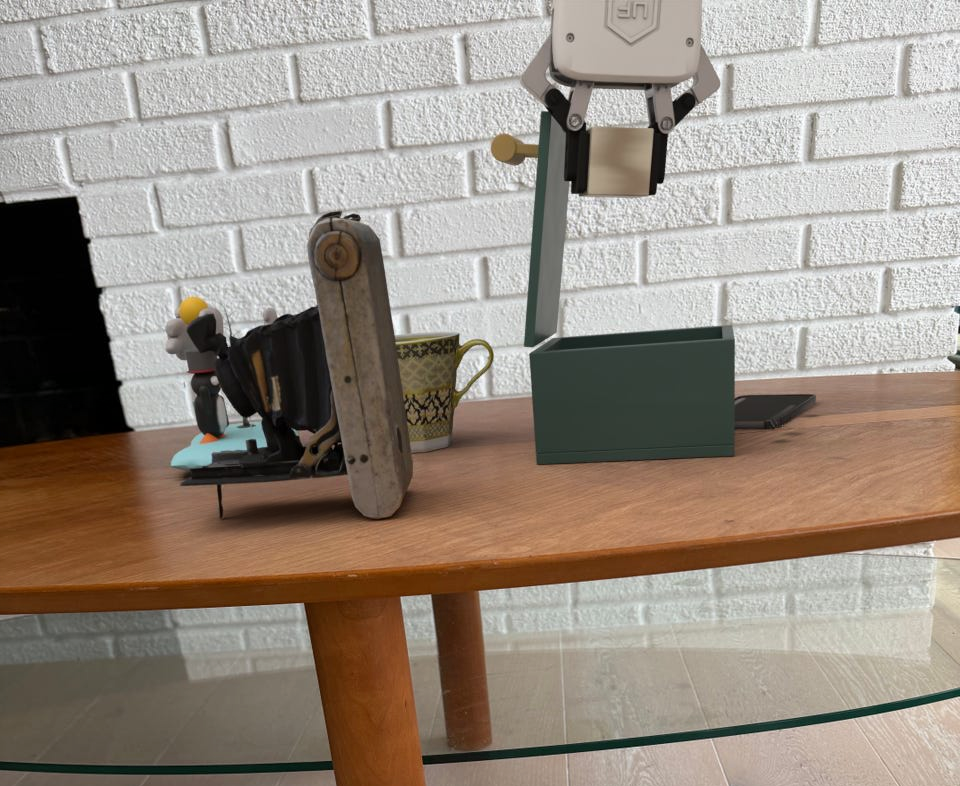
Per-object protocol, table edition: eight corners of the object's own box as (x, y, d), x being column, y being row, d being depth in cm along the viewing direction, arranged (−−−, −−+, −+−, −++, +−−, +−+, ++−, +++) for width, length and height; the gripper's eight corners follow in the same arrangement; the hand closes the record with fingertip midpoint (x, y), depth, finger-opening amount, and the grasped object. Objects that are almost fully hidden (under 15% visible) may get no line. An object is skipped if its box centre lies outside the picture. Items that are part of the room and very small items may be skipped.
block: (635, 198, 77) (640, 133, 75) (648, 196, 73) (654, 128, 71) (578, 196, 76) (581, 131, 75) (588, 194, 72) (592, 126, 71)
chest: (732, 427, 91) (732, 324, 88) (734, 456, 79) (734, 338, 76) (558, 436, 94) (552, 337, 91) (536, 464, 83) (528, 353, 80)
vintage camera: (226, 509, 79) (165, 239, 72) (419, 486, 78) (378, 210, 71) (190, 544, 70) (116, 241, 63) (407, 519, 69) (358, 207, 62)
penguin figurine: (276, 475, 88) (246, 293, 83) (155, 486, 88) (118, 305, 83) (309, 437, 107) (287, 286, 102) (209, 445, 107) (182, 296, 102)
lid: (574, 127, 85) (513, 125, 85) (551, 111, 73) (481, 108, 74) (556, 332, 91) (500, 328, 92) (533, 347, 79) (469, 342, 80)
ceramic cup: (353, 460, 92) (338, 347, 88) (377, 440, 101) (364, 337, 97) (494, 451, 90) (485, 335, 86) (505, 432, 99) (497, 326, 96)
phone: (690, 421, 92) (741, 394, 103) (690, 433, 92) (741, 405, 104) (777, 421, 88) (819, 393, 99) (777, 434, 88) (819, 405, 100)
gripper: (512, -128, 63) (504, 189, 70) (773, -115, 65) (740, 195, 72) (501, -93, 70) (494, 193, 77) (737, -81, 72) (710, 198, 79)
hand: (613, 191), depth 74 cm, fingers closed on block, 4 cm apart
